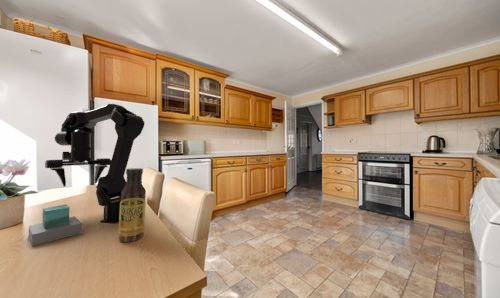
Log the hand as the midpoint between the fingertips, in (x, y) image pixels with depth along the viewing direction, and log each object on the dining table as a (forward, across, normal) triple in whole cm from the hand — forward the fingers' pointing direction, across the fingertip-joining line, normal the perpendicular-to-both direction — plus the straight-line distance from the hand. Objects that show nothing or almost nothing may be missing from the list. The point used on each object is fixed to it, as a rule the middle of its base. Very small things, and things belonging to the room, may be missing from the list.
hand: (80, 184), depth 73 cm
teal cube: (+9, +9, +17) cm, 21 cm away
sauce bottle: (+12, -4, +38) cm, 40 cm away
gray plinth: (+12, +9, +17) cm, 22 cm away
